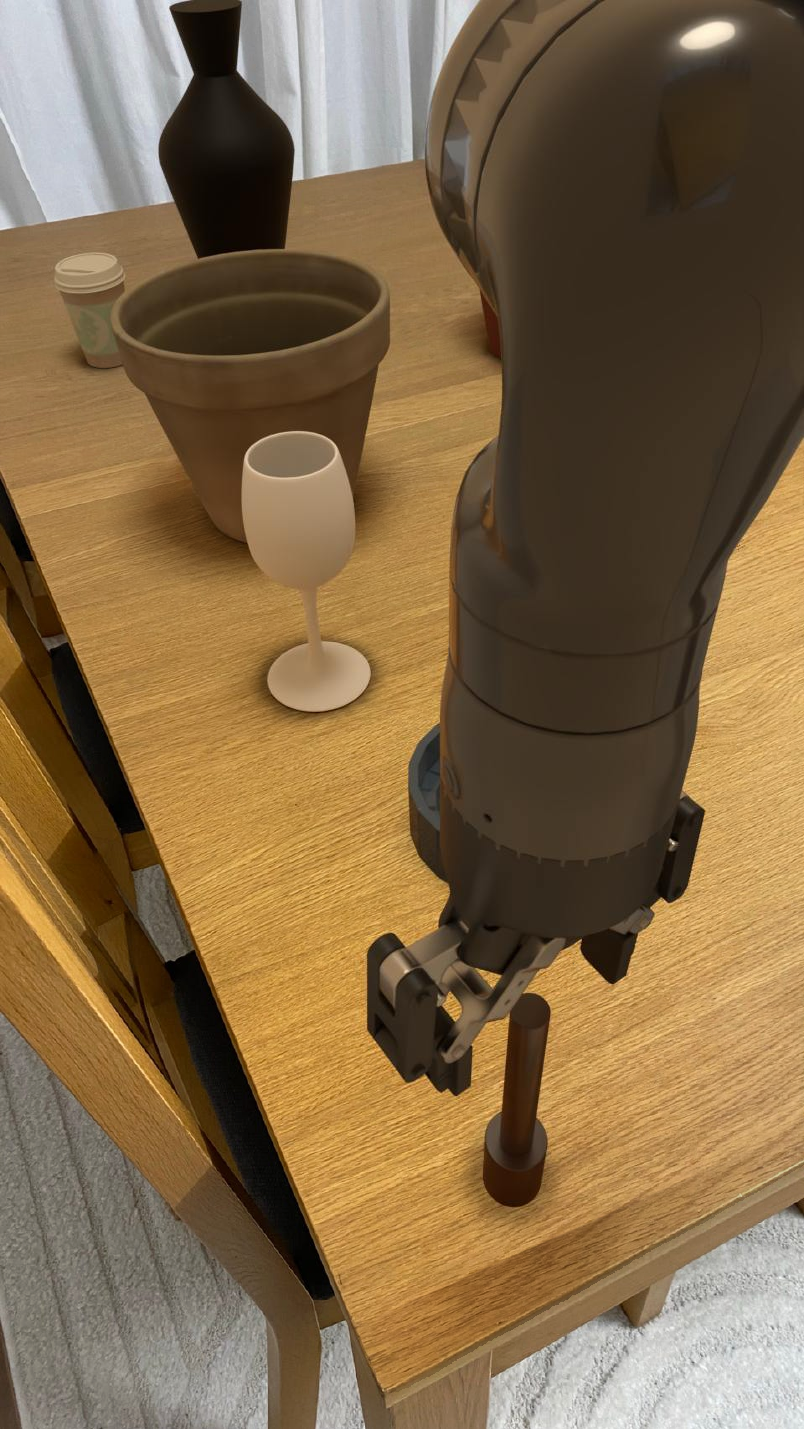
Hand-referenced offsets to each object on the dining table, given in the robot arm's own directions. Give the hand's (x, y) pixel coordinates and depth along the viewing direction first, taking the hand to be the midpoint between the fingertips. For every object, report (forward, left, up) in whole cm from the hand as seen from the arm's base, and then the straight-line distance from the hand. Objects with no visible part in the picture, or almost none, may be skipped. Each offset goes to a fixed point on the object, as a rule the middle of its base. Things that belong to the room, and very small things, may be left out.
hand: (528, 1017), depth 42 cm
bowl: (+19, -15, -17) cm, 30 cm away
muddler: (0, 0, -17) cm, 17 cm away
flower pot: (+66, -24, -17) cm, 72 cm away
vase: (+113, -46, -17) cm, 123 cm away
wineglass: (+41, -13, -17) cm, 46 cm away
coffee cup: (+110, -24, -17) cm, 114 cm away
